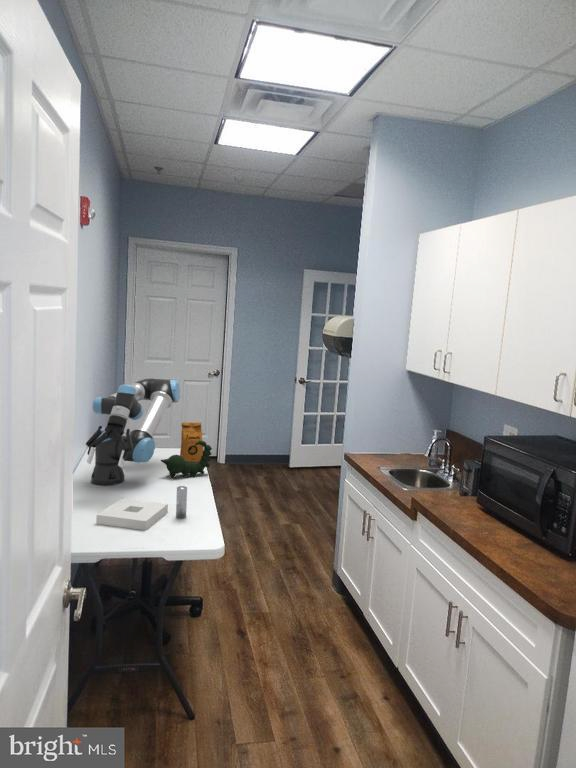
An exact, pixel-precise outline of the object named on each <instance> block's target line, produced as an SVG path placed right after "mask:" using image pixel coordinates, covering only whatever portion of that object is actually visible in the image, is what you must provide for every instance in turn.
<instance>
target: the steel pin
mask: <svg viewBox="0 0 576 768" xmlns="http://www.w3.org/2000/svg"><path fill="white" fill-rule="evenodd" d="M175 500H176V502H175V503H176V505H175V508H176V510H175V513H176V514H175V519H185V518H187V508H188V507H187V506H188V503H187V502H188V501H187V500H188V487H187V486H185V485H179V486H177V487H176V499H175Z"/></svg>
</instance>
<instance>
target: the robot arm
mask: <svg viewBox="0 0 576 768" xmlns="http://www.w3.org/2000/svg"><path fill="white" fill-rule="evenodd" d="M180 388H181V386H180V383H179V381H177V380H174V379H163V378H162V379H161V378H145V379H141V380H138V381H135V382H133V383H131V384H121V385H119V387H118V390H117V391H116V393H113V394H111V395H109V396H107V397H102V396H101V397H98V396H97V397H95V398H94V399H93V401H92V411H93V412H94V413H95V414H99V415H109V417H108V421H107V424H106V426H105V427H104V426H102V425H99V426H98V428H97V430H96V431H95V432H94V433H93V434H92V436H91V437H90V438H89V439H88V440H87V441H86V442H85V445H86V446H87V447H88V450H87V452H86V453H87V459H86V462H87V464H89V465H92V461H93V458H94V457H95V459H94V460H95V462H94V468H93V470H92V473H91V476H90V482H91V483H92V484H95V485H98V486H112V485H118V484H122V483H123V482H125V481H126V480H125V477H126V476H125V472H124V468H123V464H124V462H129V463H130V462H131V463H132V462H133V463H137V464H139V463H142V464H143V463H148V462H149V461H150V460H151V459H152V457H153V456H154V454H155V449H156V443H155V440H154V434H155V433H156V431H157V429H158V427H159V425H160V423H161V421H162V418H163V417H164V415H165V413H166V410H167V409H170V408H171V407H172V406H173V405H172V404H173V403H174V404H175V403H178V402H179V401H180V397H181V389H180ZM139 401H150V402H149V405H148V406H147V408H146V410H145V411H144V409H143V406H142V404H141V403H140V402H139ZM144 412H145V413H144ZM128 419H130V420H132V421H133V420H134V421H137V420H139V419H140V421H139V423H138V425H137V427H136V429H133V430H131V429H130V428H127V429H126V425H127V423H128ZM124 434H125V435H124Z"/></svg>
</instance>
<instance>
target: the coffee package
mask: <svg viewBox="0 0 576 768" xmlns="http://www.w3.org/2000/svg"><path fill="white" fill-rule="evenodd" d="M202 432H203V429H202V422H201V421H200V422H182V423H181V438H180V439H181V440H180V441H181V442H180V451H179V452H180V453H179V455H180V456H182V457H183V458H184V459H185V461H189V462H191V463H198V462H199V461H200V460H201V456H202V455H203V451H204V447H203V446H202V445H200V444H199V445H196V446H195V444H196V443H197V442H198V441H203V433H202Z"/></svg>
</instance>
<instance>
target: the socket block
mask: <svg viewBox="0 0 576 768" xmlns="http://www.w3.org/2000/svg"><path fill="white" fill-rule="evenodd" d="M168 506H169V503H162V502H155V501H146V500H140V499H139V500H138V499H131V498H130V499H129V498H124V497H123V498H121V499H119V500H117V501H116V502H114V503H113V504H111V505H110V506H108V507H106V508H105V509H103V510H101V511H100V512H98V513H97V514H96V517H95V518H96V519H95V521H96V524H97V525H105V526H112V527H118V528H126V529H133V530H142V531H147V530H149V528H150V527H152V526H153V525H155V523H156V522H158V521H159V520H160V519H161V518H163V517H164V516H165V515H166V514H168V511H169V510H168ZM157 520H158V521H157Z"/></svg>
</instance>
